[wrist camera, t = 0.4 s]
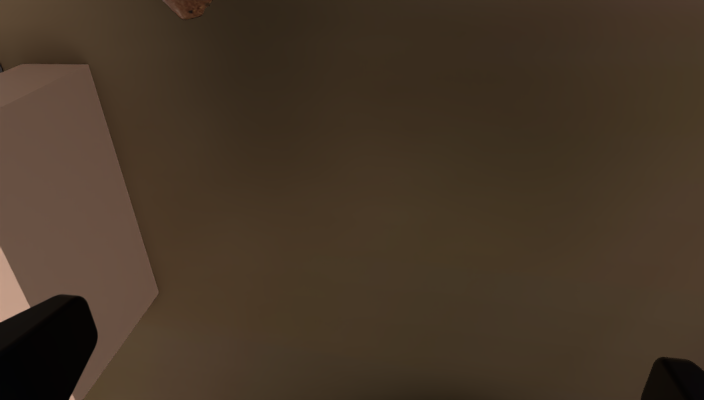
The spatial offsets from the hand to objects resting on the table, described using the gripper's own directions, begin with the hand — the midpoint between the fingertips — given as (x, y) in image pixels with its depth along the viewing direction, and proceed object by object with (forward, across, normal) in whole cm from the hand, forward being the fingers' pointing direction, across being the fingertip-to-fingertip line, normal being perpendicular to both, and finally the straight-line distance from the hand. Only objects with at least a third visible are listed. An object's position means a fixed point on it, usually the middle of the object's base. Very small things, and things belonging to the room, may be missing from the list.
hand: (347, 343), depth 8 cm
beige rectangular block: (+13, +14, +5) cm, 20 cm away
